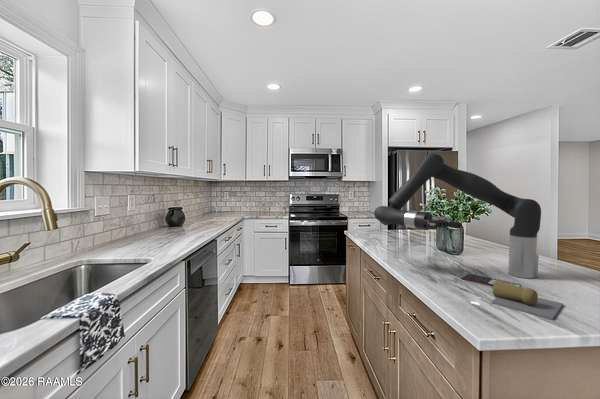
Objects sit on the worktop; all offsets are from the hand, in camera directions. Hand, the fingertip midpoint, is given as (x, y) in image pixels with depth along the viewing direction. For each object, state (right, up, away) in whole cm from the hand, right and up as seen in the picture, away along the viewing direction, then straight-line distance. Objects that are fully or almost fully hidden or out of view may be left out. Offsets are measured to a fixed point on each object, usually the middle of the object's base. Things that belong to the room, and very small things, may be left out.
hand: (461, 225), depth 106 cm
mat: (+13, -24, -15) cm, 31 cm away
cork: (+7, -21, -9) cm, 24 cm away
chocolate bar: (+15, -24, +6) cm, 29 cm away
